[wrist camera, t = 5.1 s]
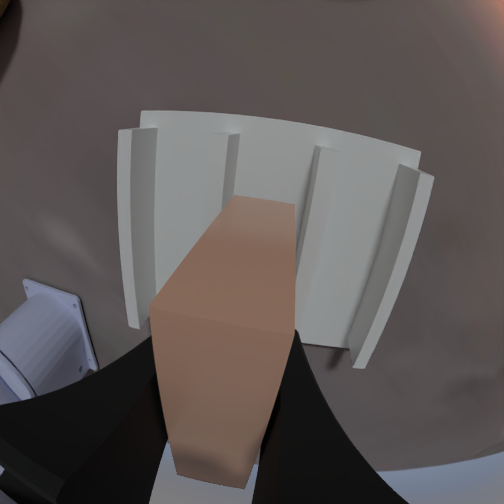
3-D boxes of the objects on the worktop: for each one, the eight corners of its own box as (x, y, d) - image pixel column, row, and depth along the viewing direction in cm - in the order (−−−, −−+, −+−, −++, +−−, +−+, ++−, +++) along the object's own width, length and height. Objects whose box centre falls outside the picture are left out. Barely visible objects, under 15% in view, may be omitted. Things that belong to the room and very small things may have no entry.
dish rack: (356, 340, 21) (364, 379, 17) (148, 304, 22) (125, 336, 18) (414, 149, 15) (445, 158, 11) (148, 110, 16) (113, 110, 12)
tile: (266, 350, 15) (244, 489, 8) (220, 342, 15) (177, 474, 8) (295, 204, 12) (294, 334, 5) (234, 195, 12) (148, 306, 5)
